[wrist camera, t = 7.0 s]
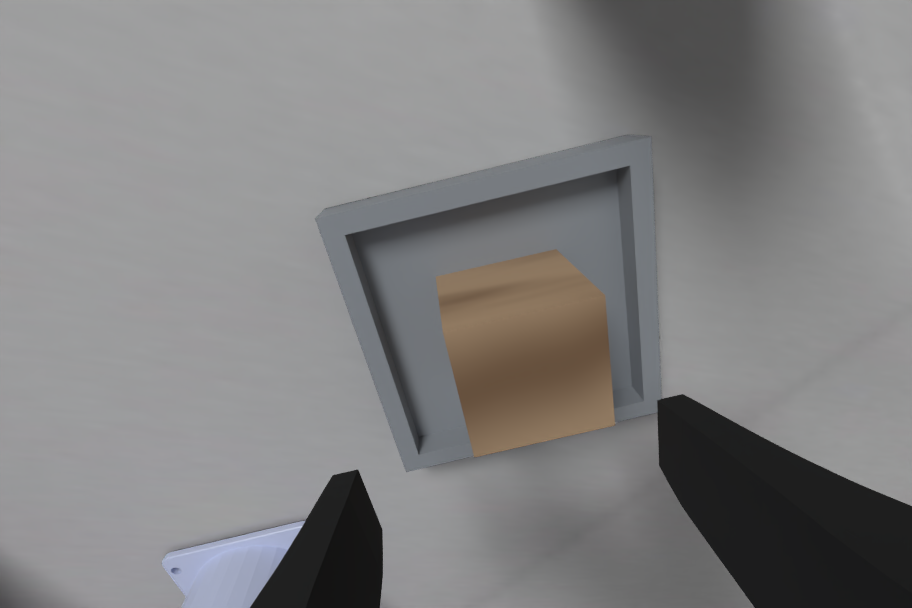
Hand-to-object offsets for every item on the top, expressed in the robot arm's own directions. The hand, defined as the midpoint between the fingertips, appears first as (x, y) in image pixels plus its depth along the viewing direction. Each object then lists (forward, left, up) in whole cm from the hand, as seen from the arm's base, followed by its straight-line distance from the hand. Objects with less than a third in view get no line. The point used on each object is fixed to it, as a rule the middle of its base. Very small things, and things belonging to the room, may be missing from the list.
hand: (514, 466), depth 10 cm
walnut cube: (-1, -1, -9) cm, 9 cm away
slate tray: (0, -1, -10) cm, 10 cm away
